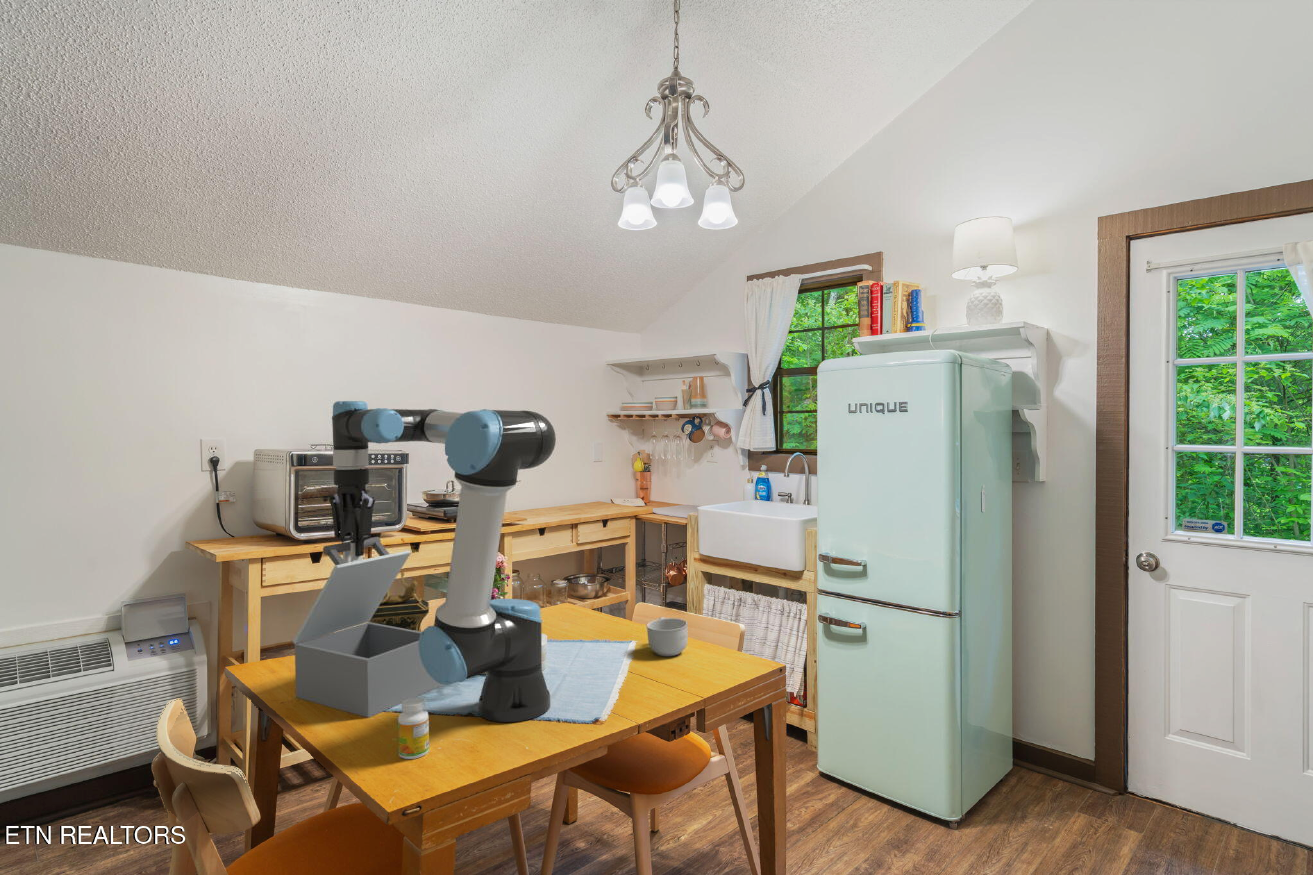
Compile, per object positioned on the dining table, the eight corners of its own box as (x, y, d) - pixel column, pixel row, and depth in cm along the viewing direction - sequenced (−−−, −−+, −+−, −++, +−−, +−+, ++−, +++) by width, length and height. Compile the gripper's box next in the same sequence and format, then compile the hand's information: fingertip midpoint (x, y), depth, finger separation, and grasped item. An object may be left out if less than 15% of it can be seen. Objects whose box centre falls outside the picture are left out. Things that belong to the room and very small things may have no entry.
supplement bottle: (393, 753, 133) (392, 701, 132) (420, 743, 136) (419, 693, 136) (406, 762, 129) (405, 709, 129) (434, 752, 133) (433, 701, 132)
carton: (440, 686, 166) (439, 635, 166) (368, 717, 149) (367, 660, 149) (370, 669, 178) (369, 622, 178) (295, 697, 160) (294, 644, 160)
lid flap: (411, 552, 170) (390, 527, 173) (337, 567, 152) (316, 539, 156) (368, 621, 178) (350, 596, 181) (294, 643, 160) (275, 615, 163)
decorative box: (429, 636, 206) (428, 568, 206) (429, 646, 197) (428, 574, 197) (354, 643, 200) (353, 573, 200) (350, 653, 191) (349, 580, 191)
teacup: (688, 659, 184) (688, 628, 183) (646, 659, 184) (646, 628, 184) (686, 642, 197) (686, 614, 197) (647, 643, 198) (647, 614, 197)
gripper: (387, 467, 164) (388, 569, 165) (343, 466, 172) (345, 563, 172) (359, 469, 158) (361, 575, 158) (315, 468, 165) (317, 569, 165)
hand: (353, 569), depth 165 cm, fingers closed on lid flap, 2 cm apart
